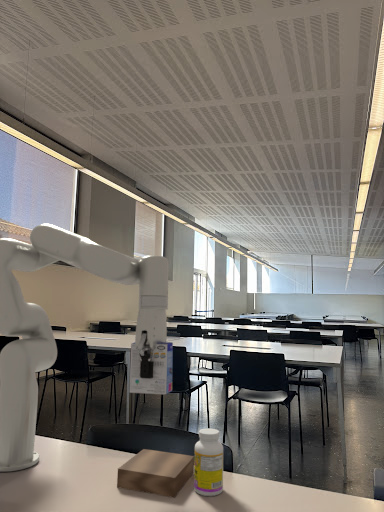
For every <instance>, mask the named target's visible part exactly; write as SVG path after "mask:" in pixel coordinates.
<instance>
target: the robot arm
mask: <svg viewBox="0 0 384 512" xmlns="http://www.w3.org/2000/svg"><path fill="white" fill-rule="evenodd" d="M29 241H30V243H27V242H24V241H20V240H17V239H13V238H9V237H8V238H7V237H1V238H0V334H1V336H5V337H21V338H22V339H21V338H19V339H16V340H13V341H11V342H9V343H7V344H6V345H5V346H4V347H3V348H2V349H1V350H0V473H2V472H3V473H5V472H7V473H8V472H16V471H21V470H24V469H29V468H31V467H33V466H35V465H36V464H38V463H39V462H40V454H39V453H38V452H37V451H35V439H36V428H37V427H36V426H37V425H36V424H37V413H38V404H39V403H38V401H39V399H38V398H39V385H38V380H37V375H36V373H38V372H42V371H45V370H47V369H50V368H51V367H52V366H54V364H55V362H56V360H57V357H58V347H57V342H56V340H55V337H54V336H55V335H54V332H53V329H52V325H51V322H50V319H49V316H48V314H47V312H46V310H45V309H44V308H43V307H42V306H41V305H39V304H37V303H34V302H26V301H25V298H24V296H23V292H22V287H21V284H20V283H19V281H18V280H17V278H16V277H15V275H14V274H13V271H20V272H25V273H32V272H35V271H38V270H41V269H43V268H45V267H48V266H50V265H52V264H55V263H57V262H60V261H61V262H63V263H66V264H68V265H70V266H71V267H75V268H77V269H81V270H83V271H85V272H88V273H90V274H92V275H94V276H97V277H99V278H102V279H103V280H106V281H109V282H112V283H116V284H122V285H125V286H136V285H139V286H138V312H137V318H136V325H135V326H136V327H135V336H134V337H135V339H134V341H135V342H134V343H135V347H136V348H137V349H138V351H139V355H140V361H141V363H140V377H141V378H148V379H151V378H153V361H152V356H153V350H154V349H155V348H156V346H157V343H161V342H167V339H168V337H167V334H168V333H167V332H168V329H167V327H168V326H167V313H166V312H167V310H168V309H169V259H168V258H167V257H165V256H162V255H146V256H143V257H141V258H136V257H132V256H130V255H127V254H124V253H122V252H119V251H116V250H114V249H112V248H109V247H106V246H103V245H101V244H100V243H99V244H98V243H96V242H94V241H92V240H91V239H90V238H88V237H85V236H83V235H80V234H78V233H75V232H72V231H69V230H66V229H64V228H61V227H58V226H56V225H54V224H50V223H42V224H38V225H37V226H35V227H34V228H33V229H32V230H31V232H30V234H29ZM12 270H13V271H12ZM145 346H149V347H150V348H145ZM147 351H149V354H148V352H147Z"/></svg>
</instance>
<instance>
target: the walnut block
mask: <svg viewBox="0 0 384 512" xmlns="http://www.w3.org/2000/svg"><path fill="white" fill-rule="evenodd" d="M194 457H195V455H188V454H183V453H182V454H181V453H175V452H167V451H161V450H153V449H147V448H146V449H145V448H143V449H142V450H140V451H139V452H138V453H136V454H135V455H134V456H132V457H131V458H130V459H129V460H128V461H126V462H124V463H123V464H122V465H121V466H119V467H118V468H117V477H116V479H117V480H116V488H119V489H124V490H129V491H135V492H142V493H146V494H152V495H157V496H163V497H168V498H176V496H177V495H178V494H179V492H180V491H181V490H182V488H183V487H184V486H185V485H186V484H187V482H188V481H189V480H190V479H191V478H192V476H194Z"/></svg>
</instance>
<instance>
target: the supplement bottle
mask: <svg viewBox="0 0 384 512" xmlns="http://www.w3.org/2000/svg"><path fill="white" fill-rule="evenodd" d="M198 438H199V440H198V441H197V442H196V443H195V444H194V473H193V489H194V491H195V492H196V493H197V494H198V495H201V496H205V497H214V496H219V495H220V494H221V493H223V490H224V445H223V444H222V442H220V441H219V438H220V430H218V429H215V428H201V429H199V431H198Z"/></svg>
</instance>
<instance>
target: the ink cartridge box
mask: <svg viewBox="0 0 384 512" xmlns="http://www.w3.org/2000/svg"><path fill="white" fill-rule="evenodd" d="M173 345H174V344H173V342H172V341H171V342H170V341H169V342H167V341H166V342H161V343H157V346H156V348H155V349H154V350H153V356H152V361H153V378H151V379H148V378H141V377H140V363H141V361H140V355H139V351H138V349H137V348H136V347H135V342H131V343H130V365H129V394H130V393H131V394H148V395H149V394H150V395H168V394H170V393H171V392H173V359H174V358H173V356H174V355H173V352H174V351H173V350H174V349H173V348H174V346H173ZM145 348H150V347H149V346H145ZM147 352H148V354H149V351H147Z"/></svg>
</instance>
